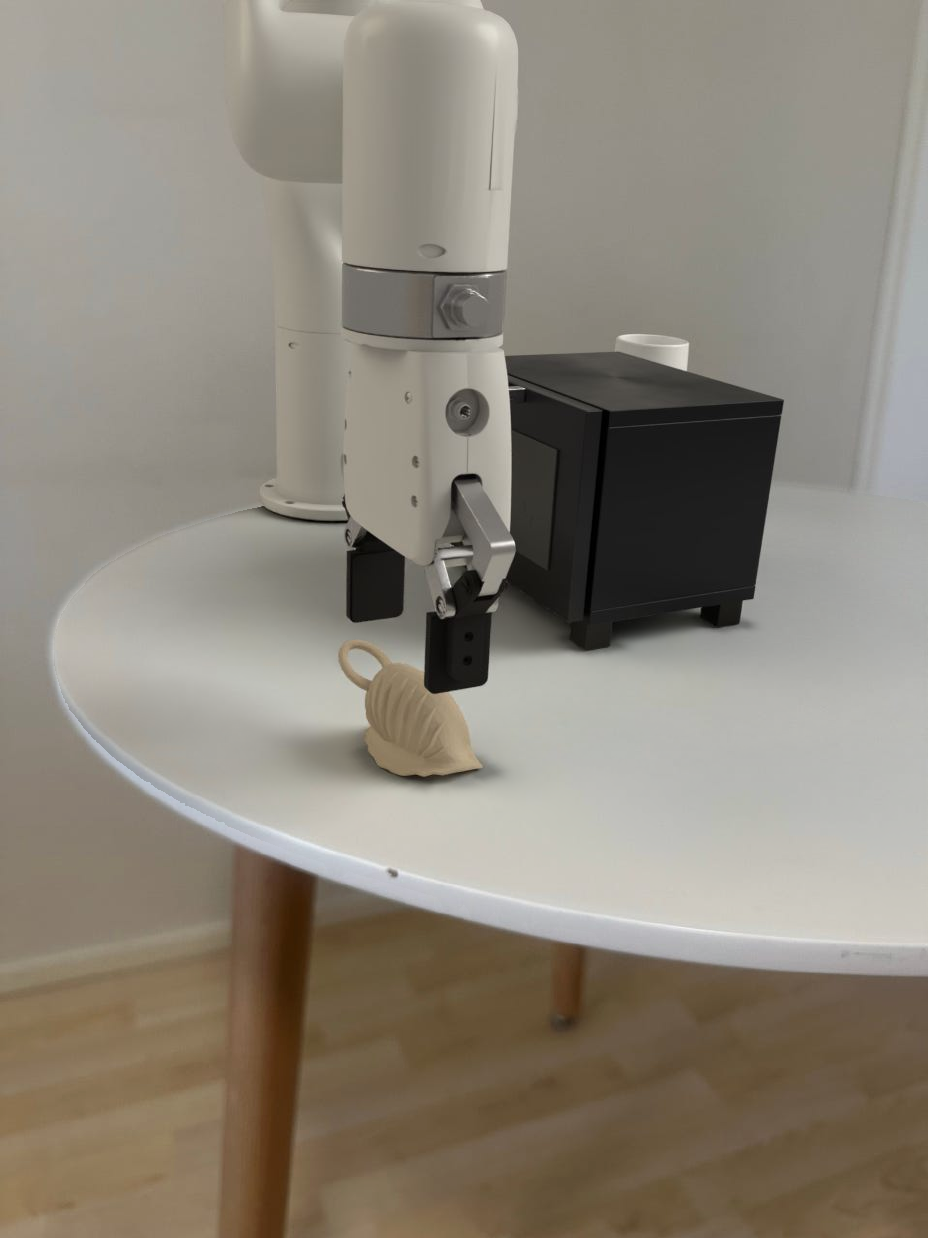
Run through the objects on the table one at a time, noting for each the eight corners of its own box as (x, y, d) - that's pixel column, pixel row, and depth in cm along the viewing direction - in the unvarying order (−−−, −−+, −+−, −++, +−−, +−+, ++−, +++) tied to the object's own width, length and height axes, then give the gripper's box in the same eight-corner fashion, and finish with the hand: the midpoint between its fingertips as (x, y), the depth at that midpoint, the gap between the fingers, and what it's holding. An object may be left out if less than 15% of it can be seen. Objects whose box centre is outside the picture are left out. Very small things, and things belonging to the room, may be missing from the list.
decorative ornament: (427, 796, 58) (431, 700, 56) (326, 734, 63) (326, 644, 61) (485, 771, 60) (491, 678, 58) (383, 713, 66) (385, 627, 64)
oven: (586, 654, 75) (610, 410, 69) (455, 562, 91) (464, 357, 85) (749, 625, 81) (784, 399, 75) (600, 544, 97) (619, 351, 91)
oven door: (468, 639, 71) (480, 414, 66) (354, 547, 86) (356, 359, 81) (583, 620, 74) (603, 406, 69) (454, 536, 89) (463, 355, 84)
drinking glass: (669, 512, 107) (689, 347, 101) (596, 504, 108) (612, 341, 102) (672, 493, 113) (691, 337, 107) (603, 486, 114) (618, 331, 108)
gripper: (595, 332, 48) (563, 706, 54) (417, 288, 62) (408, 588, 68) (432, 336, 44) (418, 734, 51) (283, 288, 59) (286, 604, 65)
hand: (412, 650), depth 59 cm, fingers open, 9 cm apart
